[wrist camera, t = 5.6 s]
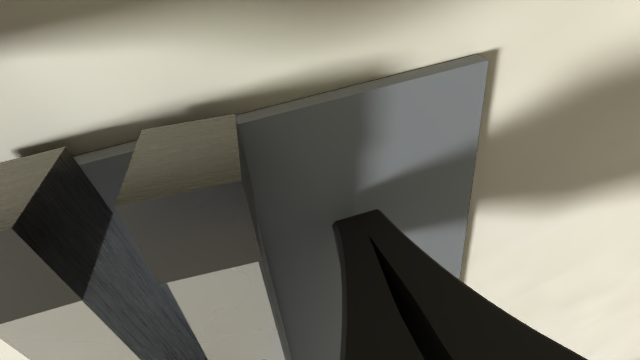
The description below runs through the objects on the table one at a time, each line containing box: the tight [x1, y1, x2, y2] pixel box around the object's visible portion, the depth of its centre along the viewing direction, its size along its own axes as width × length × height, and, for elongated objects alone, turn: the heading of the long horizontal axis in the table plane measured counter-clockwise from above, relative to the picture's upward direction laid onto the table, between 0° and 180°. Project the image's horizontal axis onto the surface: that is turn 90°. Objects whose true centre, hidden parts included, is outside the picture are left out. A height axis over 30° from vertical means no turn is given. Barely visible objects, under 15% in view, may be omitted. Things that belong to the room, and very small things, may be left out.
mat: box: [73, 54, 489, 360], centre depth 13 cm, size 16×12×1 cm
